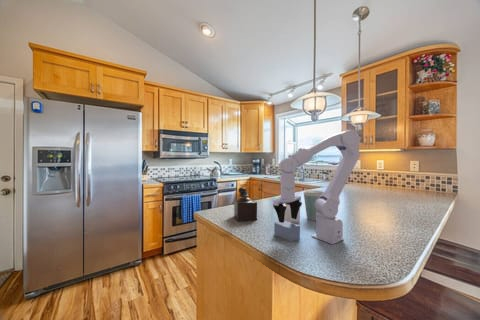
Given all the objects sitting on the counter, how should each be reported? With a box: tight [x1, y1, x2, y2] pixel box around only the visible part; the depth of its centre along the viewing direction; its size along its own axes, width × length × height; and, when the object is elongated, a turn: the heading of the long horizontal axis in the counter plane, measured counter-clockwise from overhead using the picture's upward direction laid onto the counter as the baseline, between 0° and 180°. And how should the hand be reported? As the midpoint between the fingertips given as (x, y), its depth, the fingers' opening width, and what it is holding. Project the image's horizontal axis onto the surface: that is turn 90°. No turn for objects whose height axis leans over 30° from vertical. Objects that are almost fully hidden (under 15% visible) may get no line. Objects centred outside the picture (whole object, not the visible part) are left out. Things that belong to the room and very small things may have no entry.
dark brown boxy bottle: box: [233, 186, 258, 222], centre depth 106 cm, size 16×11×18 cm
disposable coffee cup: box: [303, 189, 324, 221], centre depth 107 cm, size 11×11×15 cm
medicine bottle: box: [283, 203, 301, 223], centre depth 104 cm, size 7×7×12 cm
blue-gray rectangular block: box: [273, 220, 301, 243], centre depth 83 cm, size 9×6×5 cm
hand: (287, 220), depth 83 cm, fingers open, 7 cm apart
